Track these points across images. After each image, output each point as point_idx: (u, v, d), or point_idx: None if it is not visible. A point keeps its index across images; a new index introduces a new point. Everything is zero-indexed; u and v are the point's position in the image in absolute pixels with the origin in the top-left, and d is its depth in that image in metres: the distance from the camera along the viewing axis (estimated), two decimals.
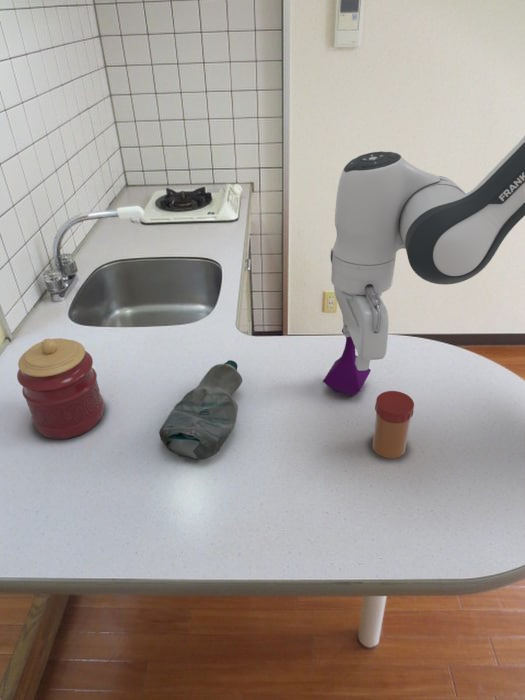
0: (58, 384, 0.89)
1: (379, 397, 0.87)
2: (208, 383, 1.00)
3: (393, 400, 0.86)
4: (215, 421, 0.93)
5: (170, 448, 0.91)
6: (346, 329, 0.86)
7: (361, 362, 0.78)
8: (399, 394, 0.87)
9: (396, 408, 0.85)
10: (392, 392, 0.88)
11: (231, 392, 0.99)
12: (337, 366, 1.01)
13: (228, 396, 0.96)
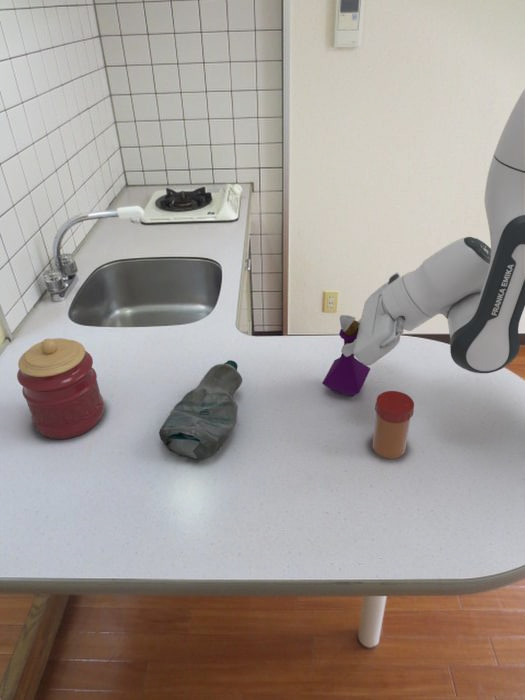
0: (58, 384, 0.89)
1: (379, 397, 0.87)
2: (208, 383, 1.00)
3: (393, 400, 0.86)
4: (215, 421, 0.93)
5: (170, 448, 0.91)
6: None
7: (348, 349, 0.96)
8: (399, 394, 0.87)
9: (396, 408, 0.85)
10: (392, 392, 0.88)
11: (231, 392, 0.99)
12: (336, 368, 1.00)
13: (228, 396, 0.96)
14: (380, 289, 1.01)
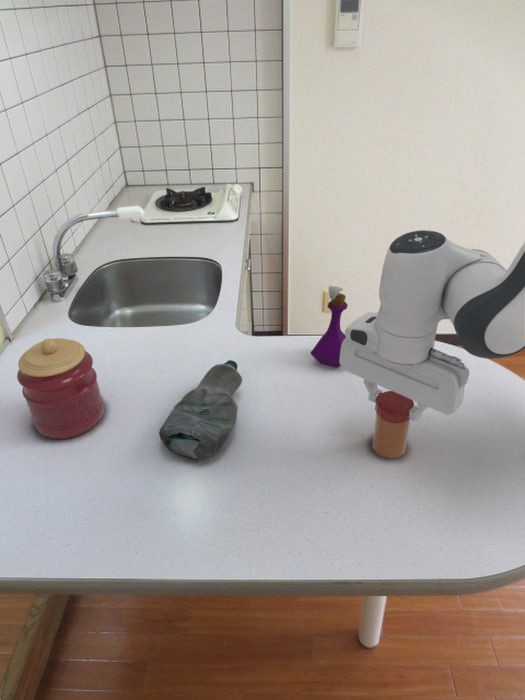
0: (58, 384, 0.89)
1: (379, 397, 0.87)
2: (208, 383, 1.00)
3: (393, 400, 0.86)
4: (215, 421, 0.93)
5: (170, 448, 0.91)
6: (377, 396, 0.87)
7: (419, 414, 0.83)
8: (399, 394, 0.87)
9: (396, 408, 0.85)
10: (392, 392, 0.88)
11: (231, 392, 0.99)
12: (323, 339, 1.09)
13: (228, 396, 0.96)
14: (347, 350, 0.85)
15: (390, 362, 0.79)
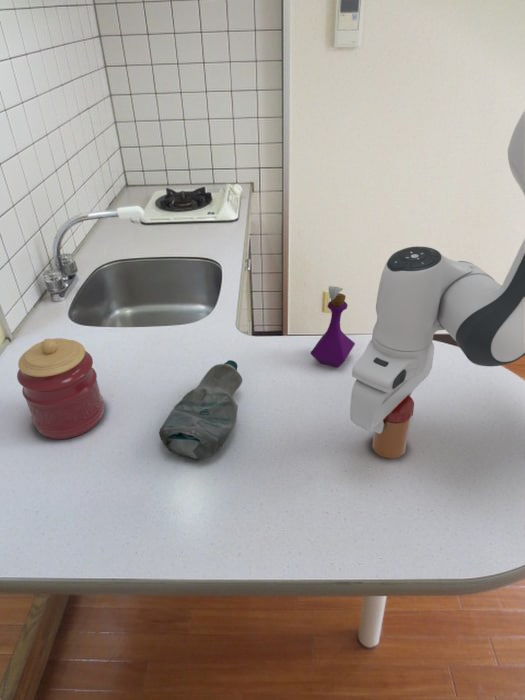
0: (58, 384, 0.89)
1: None
2: (208, 383, 1.00)
3: None
4: (215, 421, 0.93)
5: (170, 448, 0.91)
6: None
7: None
8: None
9: (405, 401, 0.86)
10: None
11: (231, 392, 0.99)
12: (323, 339, 1.09)
13: (228, 396, 0.96)
14: None
15: None
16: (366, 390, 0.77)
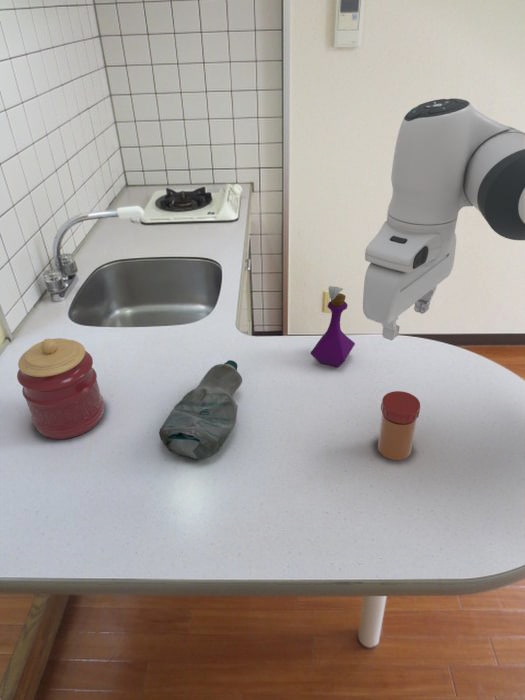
0: (58, 384, 0.89)
1: (417, 408, 0.84)
2: (208, 383, 1.00)
3: (402, 404, 0.85)
4: (215, 421, 0.93)
5: (170, 448, 0.91)
6: None
7: None
8: (395, 410, 0.84)
9: (400, 396, 0.87)
10: (403, 412, 0.83)
11: (231, 392, 0.99)
12: (323, 339, 1.09)
13: (228, 396, 0.96)
14: (398, 293, 0.66)
15: (437, 260, 0.69)
16: (382, 273, 0.66)
